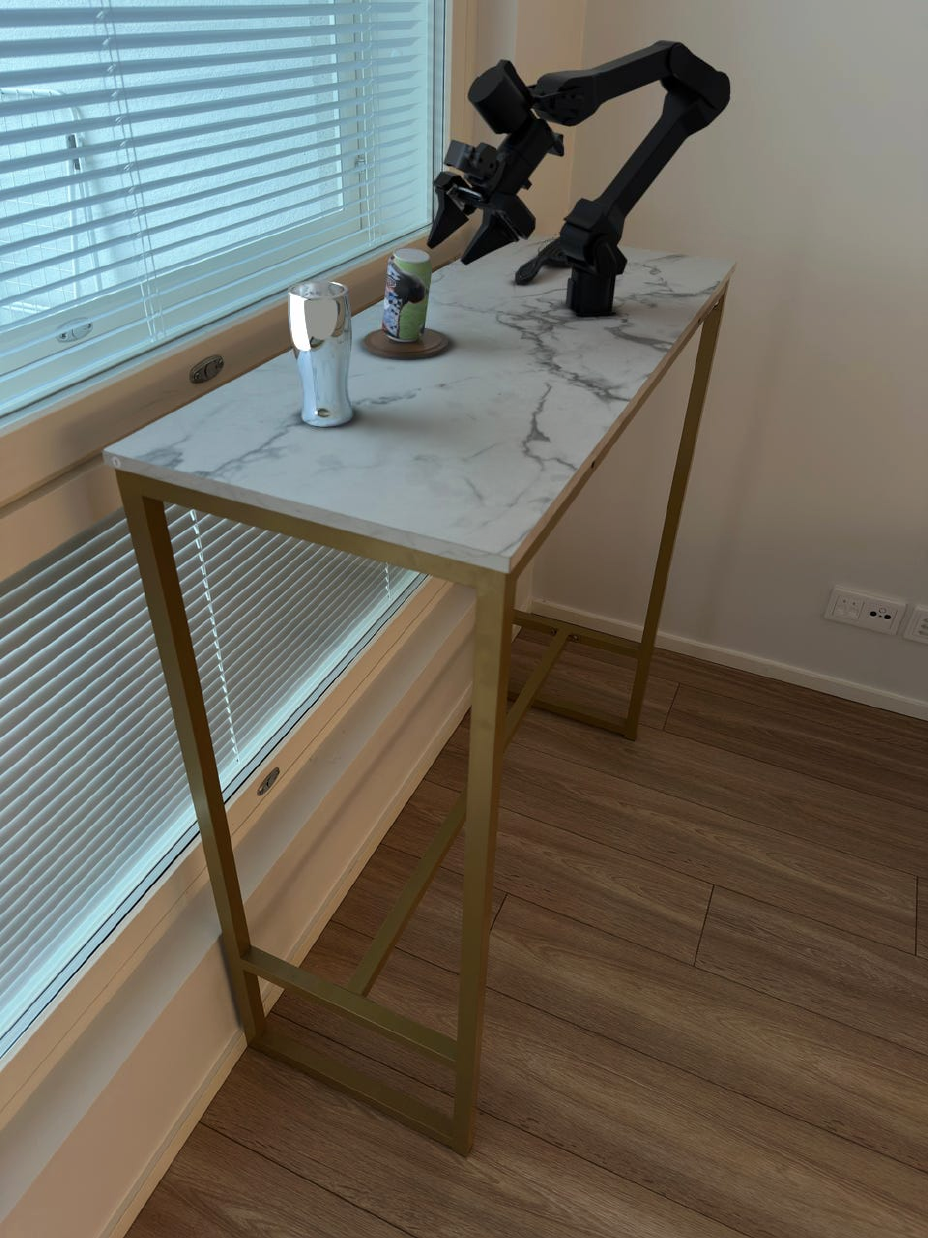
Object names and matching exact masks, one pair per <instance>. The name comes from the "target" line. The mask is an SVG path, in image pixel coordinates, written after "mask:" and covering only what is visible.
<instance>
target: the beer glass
mask: <svg viewBox="0 0 928 1238" xmlns="http://www.w3.org/2000/svg"><path fill="white" fill-rule="evenodd" d="M348 291H349V290H348V287H347V286H346V285H345V284H343V283H340V282H337V281H332V280H308V281H307V280H306V281H301V282H297V283H294V284H292V285H290V286H289V287H288V288H287V296H288V297H287V298H288V299H287V302H288V305H287V307H288V309H287V310H288V327H289V337H290V342H291V346H292V352H293V355H294V359H295V362H296V366H297V369H298V373H299V378H300V382H301V388H302V406H301V419H302V421H304V423H306V424H308V425H310V426H315V427H324V428H325V427H326V428H328V427H329V428H330V427H335V426H341V425H344V424H346V423H348V422H350V420H352V418H353V414H354V412H353V408H352V404H351V400H350V395H349V384H348V382H349V370H350V364H351V363H350V362H351V354H352V343H353V342H352V341H353V334H352V333H353V330H352V329H353V328H352V326H353V325H352V316H351V315H352V314H351V307H350V299H349V292H348Z"/></svg>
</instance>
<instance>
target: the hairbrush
mask: <svg viewBox="0 0 928 1238" xmlns="http://www.w3.org/2000/svg"><path fill="white" fill-rule="evenodd" d="M554 236H557V234H556V233H554ZM554 236H552V239H553V240H550V242H549V241H548V240H549V239H547V240H546V241H544V242H543V243H542V244H541V245H540V246H539V247H538V248H537V252H538V254H537V256H536V257H534V258H532V259H530V260H528V261H527V262H525V263H524V264H522V265H520V266H519V268H517V270H516V272H515V273H514V274H515V275H514V282H515V284H516V285H519V286H523V285H525V284H528V283H529V282H532V281H533V280H534V279H535V277H537V275H538V274H539V273H540V271H541V268H542V267H543V266H544V265H554V266H559V267H573V266H572V265H568V264H566V260H565V255H564V252H563V251H562V249H561V246H560V236H558V237H557V238H554ZM547 242H549V243H547ZM544 243H545V244H546V243H547V244H546V245H545V244H544ZM544 245H545V246H544ZM542 247H543V248H542Z"/></svg>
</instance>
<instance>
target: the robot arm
mask: <svg viewBox="0 0 928 1238" xmlns="http://www.w3.org/2000/svg"><path fill="white" fill-rule="evenodd" d="M658 81H659V84H660V85H661V87H662V88H663V89H664V90H665V91H666V94H665V96H664V100H663V106H662V110H661V115H660V116H659V119H657V121H656V123H655V124H654V125H653V126H652V128H651V129H650V130H649V132H648V133H647V134H646V135H645V137H644V138H643V140H642V141H641V142H640V144H639V145H638V146H637V147H636V149H635V150H634V151H633V153H632V154H631V156H630V157H629V158H628V159H627V161H626V162H625V163H624V164H623V166H622V167H621V168H620V170H619V171H618V173H616V174H615V176H614V177H613V179H612V180H611V181H610V183H609V184H608V185H607V187H606V188H605V189H604V190H603V192H602V193H601V194H600V195H599V196H598V197H597V198H595V199H593V200H590V199H587V198H584V197H581V198H579V200H578V201H577V202H576V203H575V205H574V207H573V208H572V210H571V211H570V213H569V214H568V215H567V216H564V217H563V219H562V220H563V222H564V223H563V225H562V226H561V228H560V231H559V232H558V235H559V237H560V246H561V249H562V251H563V252H564V255H565V260H566V264H568V265H572V266H571V275H570V277H568V278H567V283H566V295H565V302H564V303H565V305H566V307H568V309H569V310H570V311H571V312H572V314H574V316H576V317H591V316H610V315H611V316H615V315H616V313H617V310H616V309H615V308H614V307H613V304H614V297H615V288H616V280H617V276H621V275H624V272H625V269H626V267H627V264H628V259H627V257H626V256H625V254H624V253H623V252H622V250H621V249H620V248H619V246H618V245H619V243H620V242H621V240H622V238H623V232H624V228H625V222H626V218H627V217H628V215H629V214H630V213H631V212H632V211H633V209H634V207H635V206H636V205H637V203H638V202H639V201H640V199H642V197H643V196H644V194H645V193H646V192H647V191H648V189H649V188H650V187H651V185H652V184H653V183H654V182H655V181H656V179H657V178H658V176H659V175H660V174H661V172H662V171H663V170H664V169H665V167H666V166H667V164H668V163H669V162H670V161H671V159H672V158H673V157H674V156H675V154H676V153H677V152H678V151H679V150H680V148H681V147H682V145H683V144H684V143H685V142H686V140H687V139H688V138H690V137H691V136H693V135H695V134H696V133H698V132H700V131H702V130H703V129H706V128H707V127H709V126H710V125H711V124H712V123H713V122H714V121H715V120H716V119H717V118H718V117H719V116H720V115H721V114H722V113H724V111H725V110H726V108H727V107H728V105H729V103H730V100H731V81H730V77H729V75H727V73H726V72H723V71H721V70H717V69H716V68H715V67H713V66H712V65H711V64H709V63H708V62H706V61H705V60H704V59H702V58H701V57H699V56H697V55H696V54H694V53H693V51H692V50H690V49H689V47H688V46H686V45H685V44H684V42H680V41H675V40H668V39H660V40H658V41H656V42H654V43H652V44H651V45H649V46H647V47H644V48H642V49H639V50H636V51H634V52H631V53H629V54H625V55H623V56H621V57H618V58H616V59H612V60H610V61H608V62H605V63H602V64H600V65H597V66H595V67H592V68H587V69H574V70H560V71H553V72H547V73H544V74H543V75H542V76H540V77H539V78H538V79H537V80H536V83H533V84H530V85H526V84H525V82H524V81H523V79H522V78H521V77H520V75H519V74H518V71H517V68H516V67H515V65H514V64H513V62H512V61H511V60H509V59H503V58H500V60H499V61H498V62H497V63H496V65H494V66H492V67H489V68H487V70H485V71H484V72H483V73H482V74H481V75H480V76H476V78H475V79H474V80H473V81H472V83H471V85H470V86H469V89H468V92H467V100H468V102H469V104H471V106H472V107H473V108H474V109H475V111H476V112H477V114H479V116H480V118H482V120H483V121H484V122H485V123H486V125H487V126H488V128H489V129H490V130H491V131H492V133H493V134H495V135H503V134H505V137H504V139H503V140H502V141H501V143H500V144H499V146H498V147H497V148H496V147H495V146H493V145H491V144H489V143H485V142H484V141H483V142H480V143H479V144H477V146H474V145H472V144H471V145H470V144H468V143H466V142H462V141H460V140H456V139H453V138H452V139H451V140H450V143H449V146H448V149H447V150H446V151H447V152H446V153H445V157H444V160H443V162H442V164H443V165H444V166H446V167H448V168H450V167H452V168H454V169H456V170H457V171H459V172H462V173H463V174H464V176H462V175H461V174H458V173H456V172H452V171H450V170H445V171H439V173H438V174H437V176H436V177H435V179H434V180H433V181H432V186H433V187H434V194H435V195H436V197H437V204H438V206H437V211H436V213H435V217H434V221H433V223H432V225H431V229H430V233H429V234H428V238H427V241H426V246H427V248H429V249H430V250H433V249H435V248H436V247H438V246H439V245H440V244H442V243H443V242H444V241H445V240H446V239H448V238H449V237H450V236H452V235H453V234H455V232H457V231H458V230H459V229H461V228H462V227H463V226H464V225H465V224H466V223H468V222H469V221H470V218H469V217H468V216H471V215H472V214H475V212H476V211H477V210H481V211H482V219H481V224H480V226H479V228H478V229H477V230H476V232H475V234H474V236H473V237H472V239H471V240H470V242H469V243H468V245H467V246H466V248H465V250H464V252H463V254H462V255H461V258H460V262H461V264H462V265H464V266H468V265H470V264H472V263H474V262H476V261H478V260H480V259H482V258H483V257H485V256H487V255H490V254H491V253H493V252H495V251H497V250H499V249H501V248H504V247H506V246H509V245H510V244H513V243H518V242H520V240H521V239H523V240H525V241H528V239H529V238H530V237H531V235H532V234H533V232H534V231H535V230H536V224H537V222H536V221H537V218H536V217H535V215H534V214H533V213H532V211H531V209H530V208H528V207H527V205H526V204H525V203H524V201H523V200H522V199H521V198H520V196H519V195H518V194H519V193H520V191H521V190H522V189H523V190H526V191H529V190H530V188H531V187H532V185H533V183H532V181H531V180H530V177H531V176H532V175H533V173H534V172H535V171H536V170H537V168H538V167H539V166H540V164H541V163H542V161H543V160H544V159H545V157H546V156H547V155H548V154H549V155H553V156H556V157H560V158H563V157H564V156H565V145H564V139H565V136H564V133H560V132H556V131H555V132H554V130H553V129H552V127H551V126H550V125H549V123H553V124H557V125H561V126H564V127H569V128H570V127H576V126H578V125H580V124H581V123H583V122H584V121H586V120H587V119H589V118H591V116H594V115H595V114H596V113H597V111H598V110H599V109H600V107H601V106H603V104H605V103H606V102H608V101H611V100H612V99H613V100H614V99H615V98H618V97H620V96H623V95H626V94H627V93H630V92H633V91H636V90H637V89H640V88H643V87H645V86H648V85H650V84H653V83H655V82H658ZM533 111H534V112H533ZM520 238H521V239H520Z"/></svg>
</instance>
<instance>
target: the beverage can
mask: <svg viewBox="0 0 928 1238" xmlns="http://www.w3.org/2000/svg"><path fill="white" fill-rule="evenodd" d="M430 259H431V258H430V255H429V254H428V253H427V252H425V251H424V250H421V249H417V248H413V247H398V248H396V249H394V250H393V252H392V255H391V256H390V257H389V259H388V261H387V269H386V270H387V271H386V280H385V291H384V301H383V311H382V322H381V329H382V330H383V331H384V333H386V334H387V335H388V337H390V338H391V339H393V340H396V341H400V342H413V341H415V340H417V339H419V338H421V337H422V336H423V335H424V330H425V328H426V321H427V313H428V307H429V298H430V290H431V283H432V276H433V264H432V262H431V261H430Z"/></svg>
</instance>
